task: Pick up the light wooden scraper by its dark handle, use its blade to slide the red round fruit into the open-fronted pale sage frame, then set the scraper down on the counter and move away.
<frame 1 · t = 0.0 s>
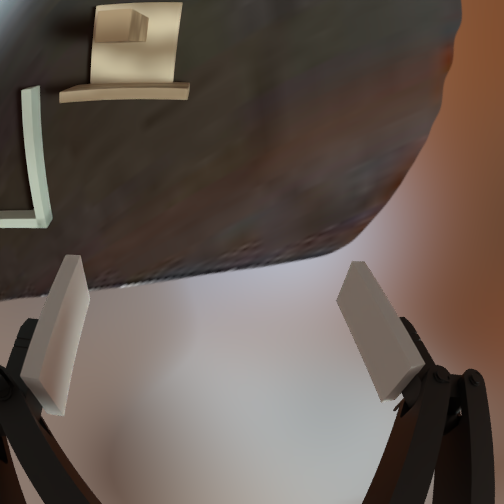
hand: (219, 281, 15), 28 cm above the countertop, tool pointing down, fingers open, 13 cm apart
wooden scraper: (131, 85, 33), on the countertop
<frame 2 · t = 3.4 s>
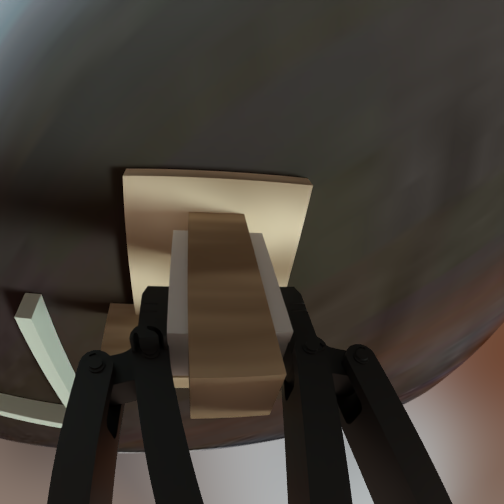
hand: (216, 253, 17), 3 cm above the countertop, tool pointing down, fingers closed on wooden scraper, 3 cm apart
wooden scraper: (206, 310, 23), on the countertop, touching gripper
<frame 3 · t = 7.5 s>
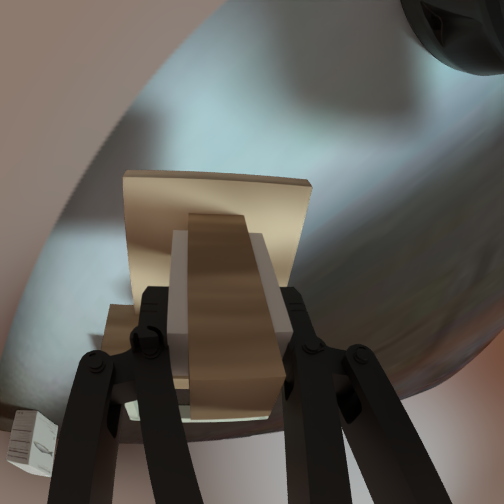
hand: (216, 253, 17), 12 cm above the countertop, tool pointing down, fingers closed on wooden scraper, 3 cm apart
sage frame: (199, 381, 44), on the countertop
wooden scraper: (206, 311, 23), point 9 cm above the countertop, touching gripper
supplement box: (37, 417, 50), on the countertop
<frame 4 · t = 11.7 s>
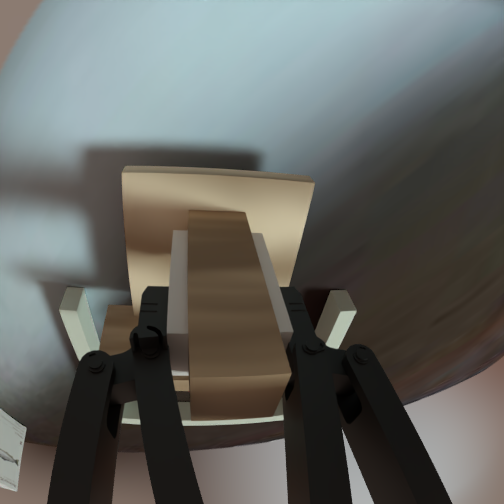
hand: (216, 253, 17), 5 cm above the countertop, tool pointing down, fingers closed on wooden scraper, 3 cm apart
sage frame: (205, 365, 30), on the countertop
wooden scraper: (206, 312, 23), point 2 cm above the countertop, touching gripper, red round fruit
supplement box: (1, 415, 36), on the countertop
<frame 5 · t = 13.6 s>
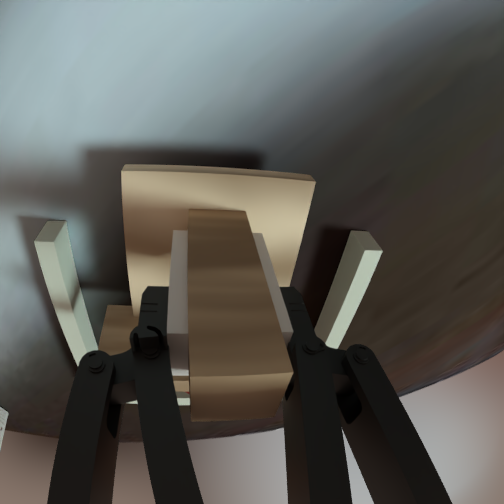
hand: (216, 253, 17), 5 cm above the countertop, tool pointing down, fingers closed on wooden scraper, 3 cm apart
sage frame: (204, 327, 27), on the countertop
wooden scraper: (206, 312, 22), point 2 cm above the countertop, touching gripper, red round fruit
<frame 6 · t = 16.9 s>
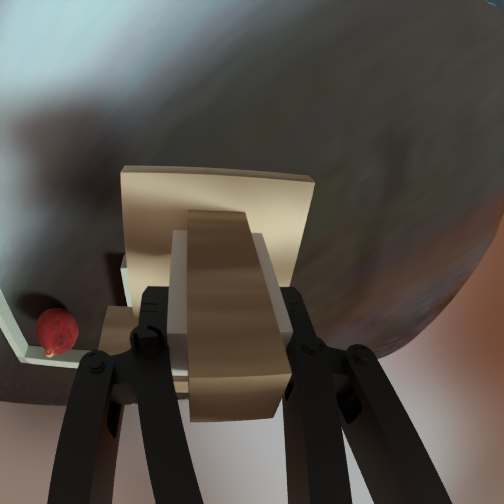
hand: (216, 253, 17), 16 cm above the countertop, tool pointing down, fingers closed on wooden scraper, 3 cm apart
sage frame: (66, 314, 39), on the countertop
wooden scraper: (206, 313, 22), point 14 cm above the countertop, touching gripper
red round fruit: (63, 309, 38), on the countertop
when the fingers open (4 cm above the countertop, at t = 20.0 s): wooden scraper drops 2 cm, on the countertop.
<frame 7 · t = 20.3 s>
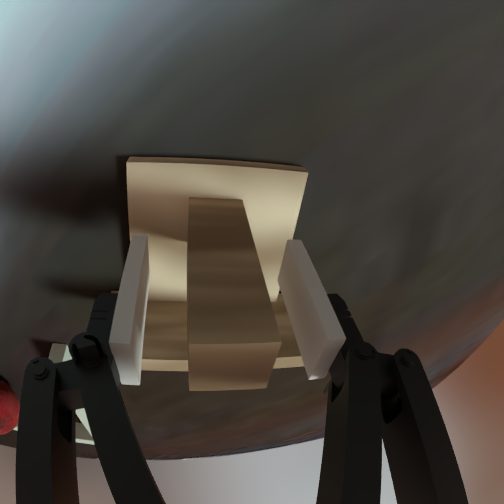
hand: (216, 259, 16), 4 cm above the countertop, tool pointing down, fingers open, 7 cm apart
sage frame: (9, 385, 28), on the countertop
wooden scraper: (206, 297, 24), on the countertop
red round fruit: (5, 380, 28), on the countertop
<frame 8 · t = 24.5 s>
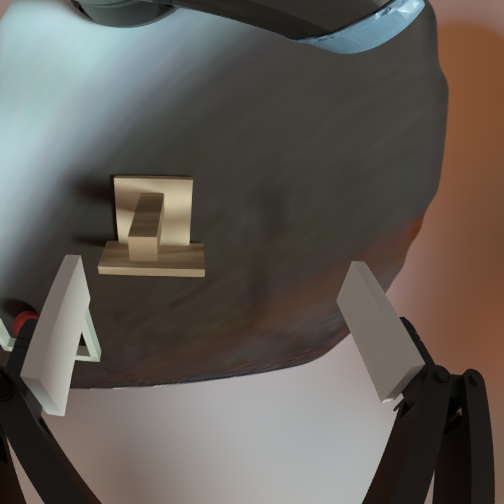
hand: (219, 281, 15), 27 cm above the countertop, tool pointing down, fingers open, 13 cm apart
sage frame: (36, 315, 49), on the countertop
wooden scraper: (154, 244, 45), on the countertop
red round fruit: (34, 311, 49), on the countertop
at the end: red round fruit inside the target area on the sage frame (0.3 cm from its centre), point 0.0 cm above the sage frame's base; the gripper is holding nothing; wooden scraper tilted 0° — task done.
